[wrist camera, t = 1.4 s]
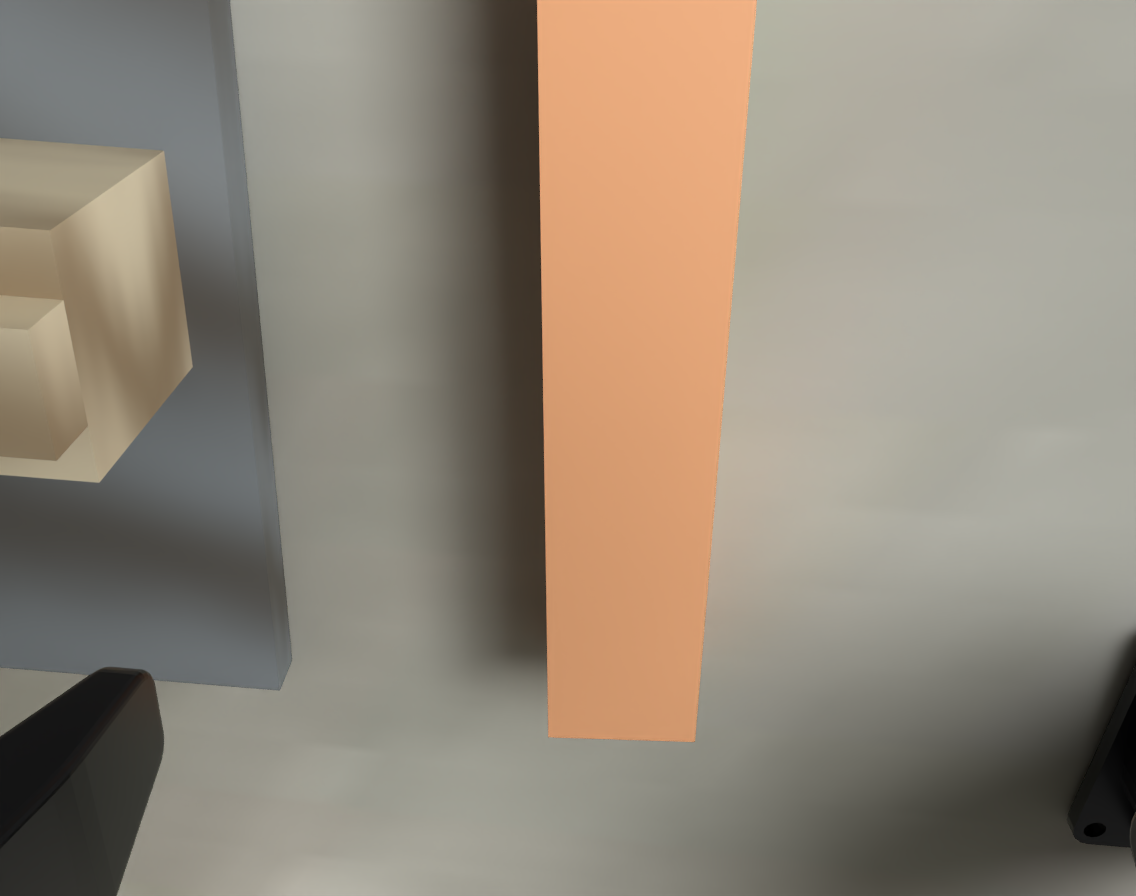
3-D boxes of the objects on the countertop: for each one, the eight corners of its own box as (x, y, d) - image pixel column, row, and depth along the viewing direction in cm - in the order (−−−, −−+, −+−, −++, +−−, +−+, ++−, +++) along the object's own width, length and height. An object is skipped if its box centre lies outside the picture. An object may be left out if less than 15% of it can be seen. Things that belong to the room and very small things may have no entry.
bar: (687, 644, 24) (694, 741, 22) (556, 640, 24) (548, 737, 22) (758, -328, 15) (787, -360, 12) (547, -327, 15) (531, -357, 12)
